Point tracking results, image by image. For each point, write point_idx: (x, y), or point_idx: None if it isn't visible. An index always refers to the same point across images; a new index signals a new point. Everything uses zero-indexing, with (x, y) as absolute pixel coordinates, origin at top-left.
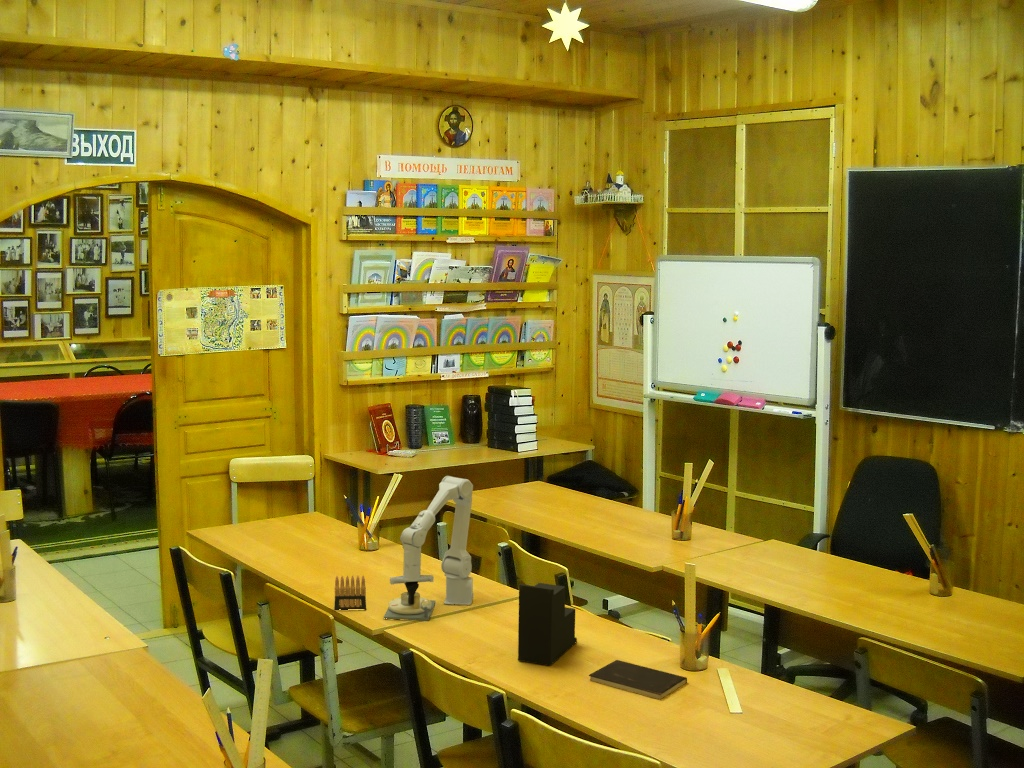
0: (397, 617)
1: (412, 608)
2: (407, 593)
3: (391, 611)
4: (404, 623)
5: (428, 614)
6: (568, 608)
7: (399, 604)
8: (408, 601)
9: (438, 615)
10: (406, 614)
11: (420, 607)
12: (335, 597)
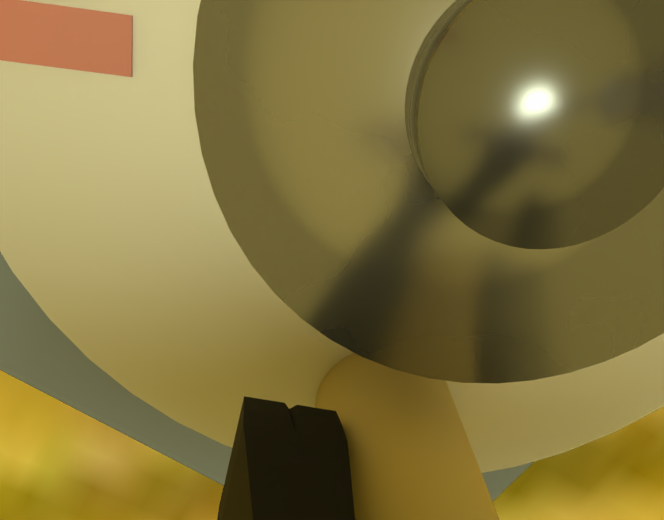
0: (20, 376)
1: (307, 403)
2: (413, 135)
3: None
4: (87, 496)
5: (489, 478)
6: None
7: (177, 37)
8: (236, 441)
9: (633, 439)
10: None
11: (462, 418)
12: None
